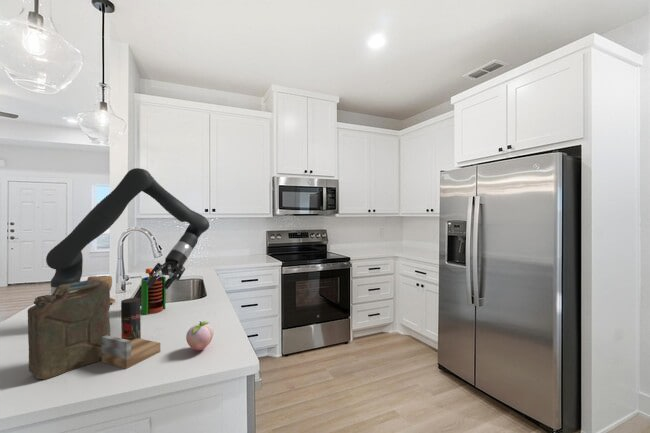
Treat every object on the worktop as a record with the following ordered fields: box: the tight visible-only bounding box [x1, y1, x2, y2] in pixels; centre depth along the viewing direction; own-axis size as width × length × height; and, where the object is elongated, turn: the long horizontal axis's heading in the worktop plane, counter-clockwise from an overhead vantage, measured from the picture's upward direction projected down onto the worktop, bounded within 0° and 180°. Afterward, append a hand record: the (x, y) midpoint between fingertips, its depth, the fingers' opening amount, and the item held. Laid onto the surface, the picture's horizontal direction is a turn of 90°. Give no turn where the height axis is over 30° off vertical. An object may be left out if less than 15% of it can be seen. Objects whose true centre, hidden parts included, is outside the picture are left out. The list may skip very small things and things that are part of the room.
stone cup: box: [86, 275, 116, 304], centre depth 154 cm, size 15×12×15 cm
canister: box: [27, 279, 111, 380], centre depth 95 cm, size 19×8×25 cm, turn 147°
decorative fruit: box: [185, 320, 214, 351], centre depth 106 cm, size 9×8×10 cm
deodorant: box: [120, 297, 142, 340], centre depth 113 cm, size 6×6×15 cm
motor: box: [140, 267, 167, 316], centre depth 146 cm, size 10×9×20 cm
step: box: [101, 335, 161, 369], centre depth 101 cm, size 11×12×8 cm
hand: (156, 287), depth 123 cm, fingers open, 8 cm apart
